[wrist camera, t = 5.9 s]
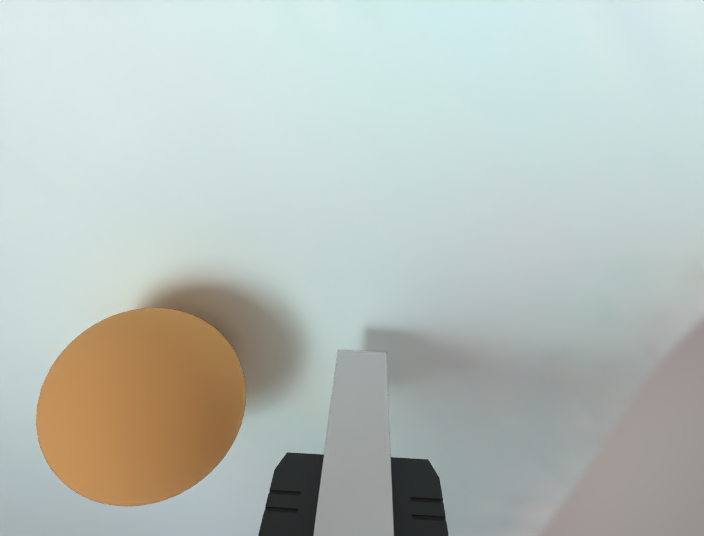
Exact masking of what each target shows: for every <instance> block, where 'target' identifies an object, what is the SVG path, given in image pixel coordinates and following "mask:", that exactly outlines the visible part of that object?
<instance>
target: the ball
mask: <svg viewBox="0 0 704 536" xmlns="http://www.w3.org/2000/svg"><path fill="white" fill-rule="evenodd" d="M245 403H246V385H245V378H244V373H243V370H242V367H241V364H240V361H239V358H238V356H237V354H236V352H235V351H234V349H233V348H232V346H231V345H230V343H229V342H228V341H227V339H226V338H225V337H224V336H223V335H222V334H221V333H220V332H219V331H218V330H217V329H216V328H214V327H213V326H212V325H210V324H209V323H207V322H206V321H204V320H202V319H200V318H198V317H196V316H194V315H192V314H189V313H186V312H183V311H178V310H173V309H165V308H144V309H136V310H130V311H127V312H123V313H120V314H117V315H114V316H111V317H109V318H107V319H104V320H102V321H100V322H99V323H97V324H95V325H93V326H92V327H90V328H88V329H87V330H86V331H84V332H83V333H82V334H80V335H79V336H78V337H77V338H76V339H74V340H73V341H72V342H71V343H70V344H69V345H68V346H67V347H66V348H65V349H64V350H63V352H62V353H61V354H60V356H59V357H58V358H57V360H56V361H55V363H54V364H53V365H52V367H51V369H50V371H49V373H48V375H47V377H46V379H45V381H44V383H43V386H42V389H41V393H40V397H39V401H38V405H37V419H36V426H37V434H38V439H39V444H40V447H41V450H42V452H43V454H44V456H45V459H46V461H47V463H48V465H49V466H50V468H51V469H52V471H53V472H54V473H55V474H56V475H57V476H58V477H59V479H60V480H61V481H62V482H63V483H64V484H66V485H67V486H68V487H69V488H71V489H72V490H73V491H75V492H76V493H78V494H80V495H82V496H84V497H86V498H88V499H91V500H93V501H96V502H100V503H104V504H109V505H117V506H140V505H146V504H152V503H156V502H160V501H163V500H166V499H168V498H171V497H174V496H176V495H178V494H180V493H182V492H184V491H186V490H187V489H189V488H191V487H192V486H194V485H195V484H197V483H198V482H199V481H201V480H202V479H203V478H204V477H206V476H207V475H208V474H209V473H210V472H211V471H212V470H213V469H214V468H215V467H216V466H217V465H218V464H219V463H220V461H221V460H222V459H223V458H224V456H225V455H226V454H227V452H228V451H229V449H230V447H231V446H232V444H233V442H234V440H235V438H236V436H237V434H238V432H239V429H240V426H241V423H242V419H243V416H244V410H245Z"/></svg>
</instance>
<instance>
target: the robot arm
mask: <svg viewBox="0 0 704 536" xmlns="http://www.w3.org/2000/svg"><path fill="white" fill-rule="evenodd" d="M258 536H448V530H447V523H446V520H445V511H444V504H443V498H442V492H441V486H440V479H439V477H438V475H437V473H436V472H435V470H434V468H433V467H432V465H431V464H430V462H429V460H427V459H410V458H393V457H391V456H390V432H389V408H388V384H387V360H386V352H373V351H354V350H338V352H337V359H336V367H335V375H334V382H333V390H332V398H331V405H330V413H329V421H328V428H327V436H326V443H325V451H324V455H320V454H303V453H287V454H286V455H285V456H284V458H283V459H282V460H281V462H280V463H279V465H278V466H277V467H276V469H275V471H274V475H273V479H272V483H271V487H270V493H269V495H268V499H267V503H266V508H265V511H264V515H263V519H262V523H261V527H260V531H259V535H258Z"/></svg>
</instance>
